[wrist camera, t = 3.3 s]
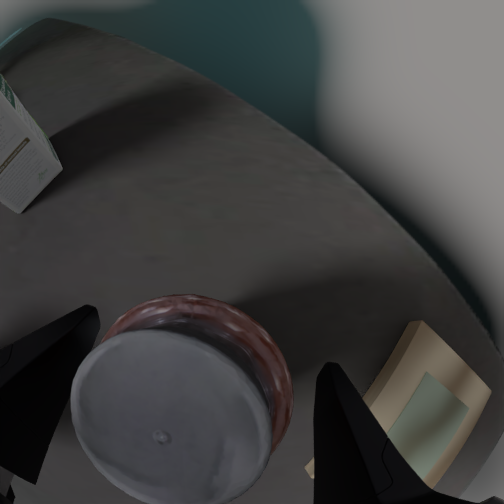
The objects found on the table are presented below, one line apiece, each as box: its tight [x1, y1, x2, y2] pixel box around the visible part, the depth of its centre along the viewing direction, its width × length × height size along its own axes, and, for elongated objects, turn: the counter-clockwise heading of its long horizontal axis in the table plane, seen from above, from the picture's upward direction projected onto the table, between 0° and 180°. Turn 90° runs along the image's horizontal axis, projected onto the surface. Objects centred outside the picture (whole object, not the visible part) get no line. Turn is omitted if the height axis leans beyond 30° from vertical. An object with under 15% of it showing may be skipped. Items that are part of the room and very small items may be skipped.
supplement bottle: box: [71, 294, 294, 504], centre depth 9 cm, size 6×6×11 cm
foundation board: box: [305, 320, 492, 489], centre depth 13 cm, size 12×12×2 cm
